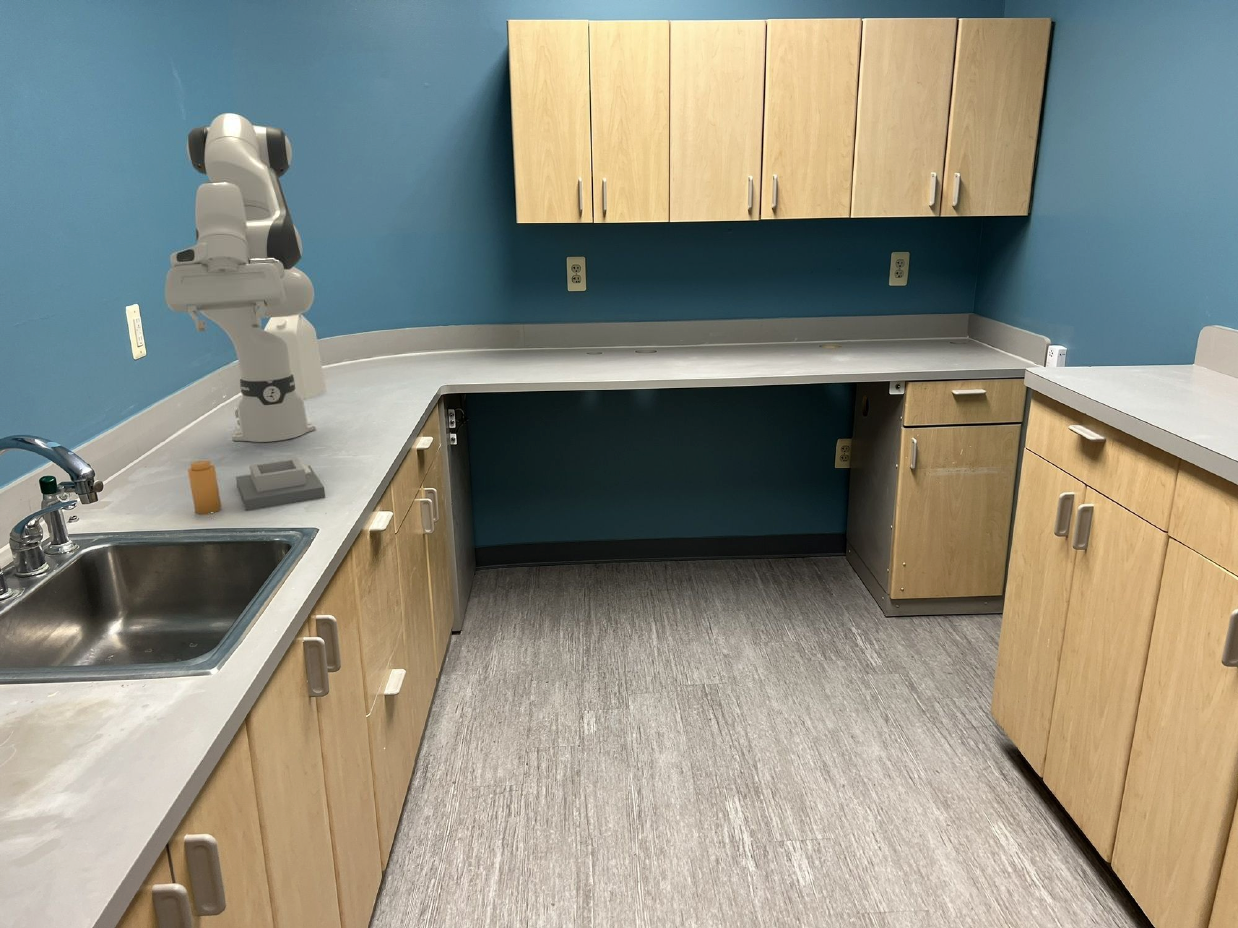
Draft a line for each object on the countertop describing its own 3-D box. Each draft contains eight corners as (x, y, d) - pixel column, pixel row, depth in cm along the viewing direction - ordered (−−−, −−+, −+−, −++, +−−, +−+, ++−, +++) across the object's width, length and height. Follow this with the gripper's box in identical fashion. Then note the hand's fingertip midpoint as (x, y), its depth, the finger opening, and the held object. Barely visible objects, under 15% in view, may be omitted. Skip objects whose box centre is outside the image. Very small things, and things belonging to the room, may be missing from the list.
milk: (326, 391, 256) (315, 302, 248) (305, 399, 245) (293, 307, 237) (289, 390, 258) (277, 302, 250) (267, 398, 247) (254, 307, 240)
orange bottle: (194, 508, 159) (186, 462, 156) (220, 504, 161) (212, 458, 158) (196, 515, 155) (187, 468, 152) (222, 511, 157) (214, 464, 154)
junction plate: (237, 486, 171) (233, 462, 169) (310, 474, 177) (307, 451, 176) (246, 510, 157) (241, 484, 156) (325, 496, 164) (322, 471, 162)
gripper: (285, 265, 167) (291, 331, 163) (170, 272, 162) (174, 340, 158) (280, 249, 161) (286, 316, 158) (160, 255, 156) (164, 325, 153)
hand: (228, 328), depth 158 cm, fingers open, 8 cm apart
